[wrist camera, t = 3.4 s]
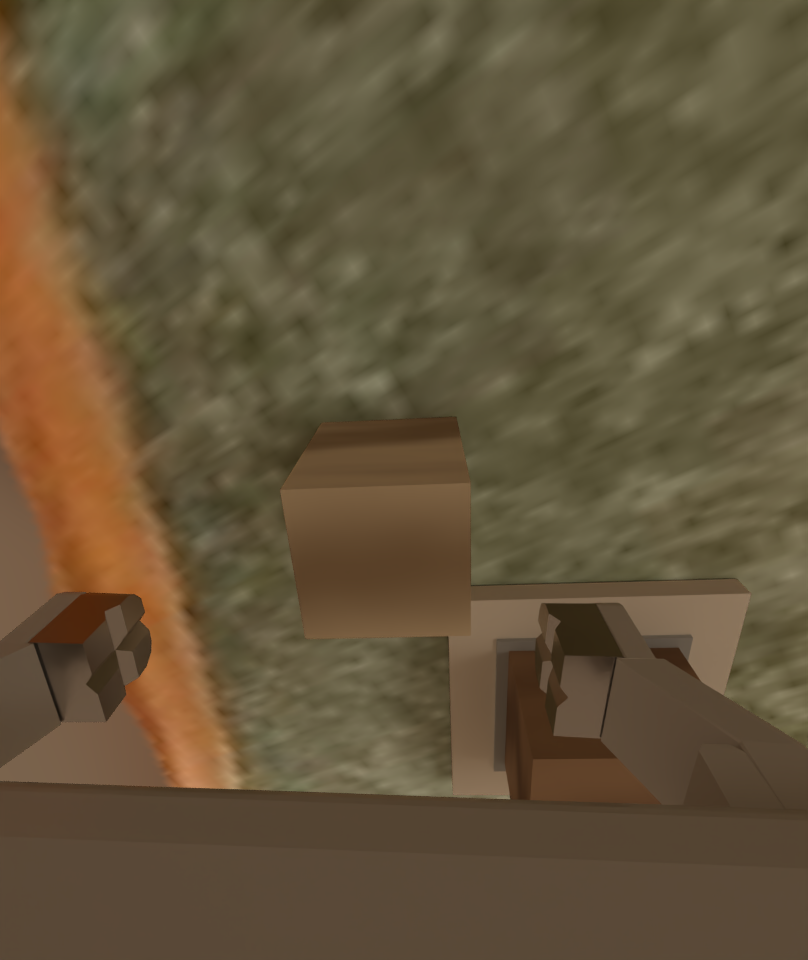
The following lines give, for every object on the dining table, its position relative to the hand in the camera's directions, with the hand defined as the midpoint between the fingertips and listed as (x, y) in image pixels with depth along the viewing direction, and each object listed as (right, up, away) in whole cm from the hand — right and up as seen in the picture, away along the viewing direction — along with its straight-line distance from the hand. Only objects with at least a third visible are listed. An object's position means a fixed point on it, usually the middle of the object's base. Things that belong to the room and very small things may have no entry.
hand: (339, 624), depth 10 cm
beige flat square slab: (+9, -7, +13) cm, 18 cm away
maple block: (+1, +3, +9) cm, 10 cm away
